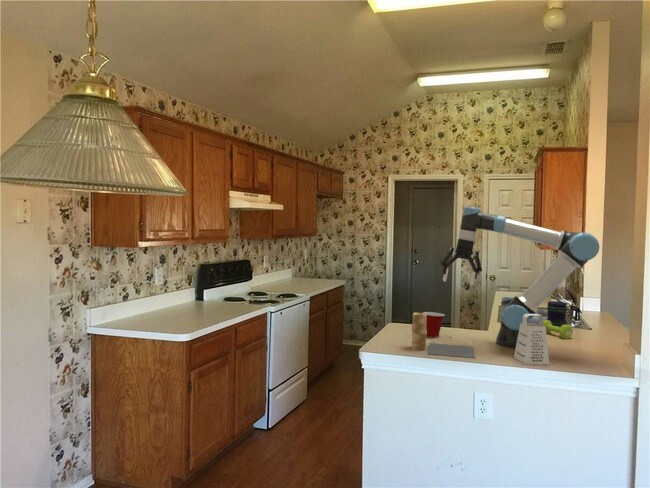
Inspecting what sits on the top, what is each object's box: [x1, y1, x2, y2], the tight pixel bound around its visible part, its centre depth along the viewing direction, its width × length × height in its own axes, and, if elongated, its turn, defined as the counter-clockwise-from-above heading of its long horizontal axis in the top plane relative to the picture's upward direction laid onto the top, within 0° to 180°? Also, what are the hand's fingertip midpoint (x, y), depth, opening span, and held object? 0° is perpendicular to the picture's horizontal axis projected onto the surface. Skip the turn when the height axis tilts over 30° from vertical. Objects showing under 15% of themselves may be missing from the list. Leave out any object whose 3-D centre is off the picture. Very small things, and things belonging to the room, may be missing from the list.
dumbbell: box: [543, 319, 574, 340], centre depth 260 cm, size 16×8×7 cm, turn 25°
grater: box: [513, 313, 550, 365], centre depth 211 cm, size 10×10×20 cm
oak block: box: [411, 312, 427, 351], centre depth 228 cm, size 6×6×16 cm
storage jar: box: [546, 300, 568, 327], centre depth 276 cm, size 10×10×15 cm
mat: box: [427, 342, 476, 359], centre depth 225 cm, size 20×20×1 cm
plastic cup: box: [422, 311, 445, 338], centre depth 253 cm, size 11×11×12 cm
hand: (457, 283), depth 234 cm, fingers open, 13 cm apart
